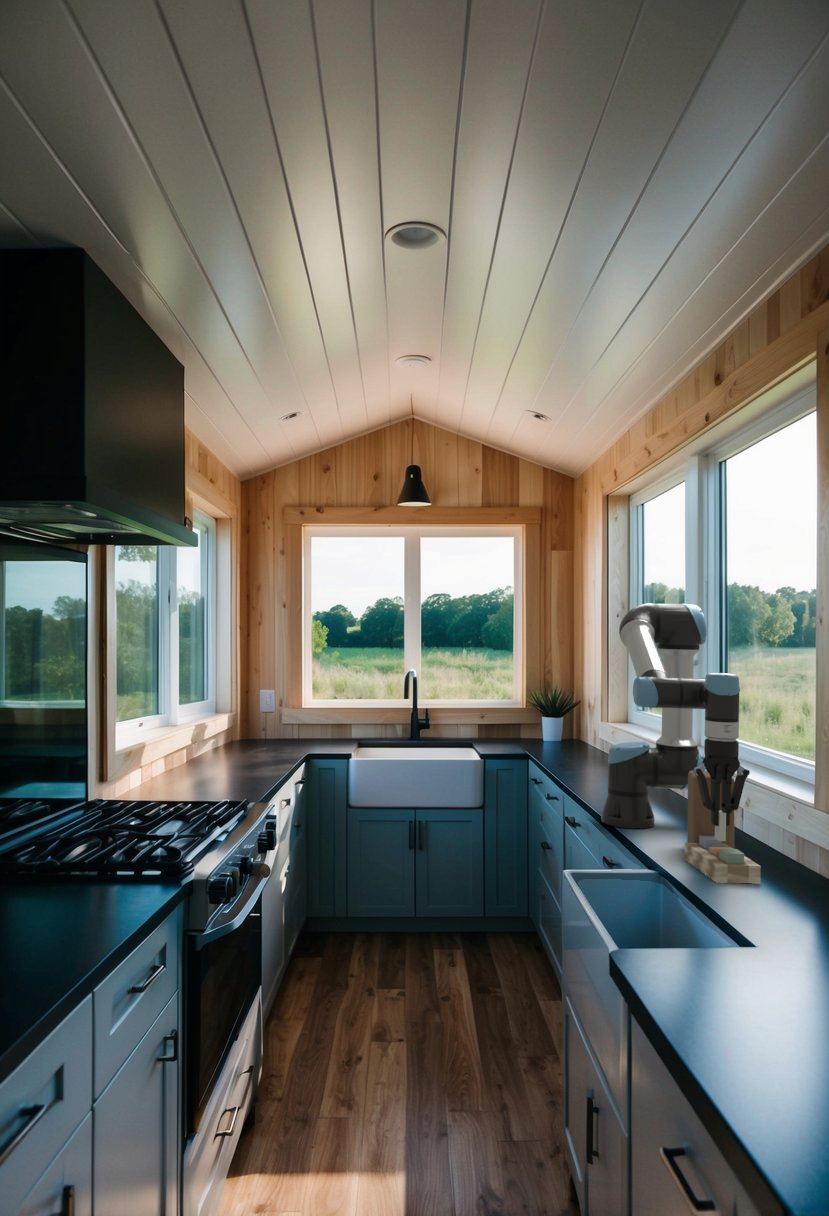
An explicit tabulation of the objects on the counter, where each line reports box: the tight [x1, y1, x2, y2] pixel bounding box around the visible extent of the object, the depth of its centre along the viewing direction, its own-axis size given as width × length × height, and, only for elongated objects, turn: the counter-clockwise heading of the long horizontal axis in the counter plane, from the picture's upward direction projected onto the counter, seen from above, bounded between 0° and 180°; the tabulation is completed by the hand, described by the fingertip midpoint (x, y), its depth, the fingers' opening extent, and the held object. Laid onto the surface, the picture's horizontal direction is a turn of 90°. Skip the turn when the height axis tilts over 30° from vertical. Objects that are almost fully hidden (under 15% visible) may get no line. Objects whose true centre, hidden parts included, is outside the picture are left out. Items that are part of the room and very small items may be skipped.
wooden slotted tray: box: [684, 842, 762, 885], centre depth 183 cm, size 19×10×4 cm, turn 1°
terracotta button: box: [709, 847, 727, 856], centre depth 183 cm, size 4×4×4 cm
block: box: [686, 770, 736, 849], centre depth 199 cm, size 10×10×20 cm
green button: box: [719, 848, 745, 864], centre depth 177 cm, size 4×4×4 cm
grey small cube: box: [699, 836, 722, 849], centre depth 189 cm, size 4×4×4 cm
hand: (720, 839), depth 183 cm, fingers closed
